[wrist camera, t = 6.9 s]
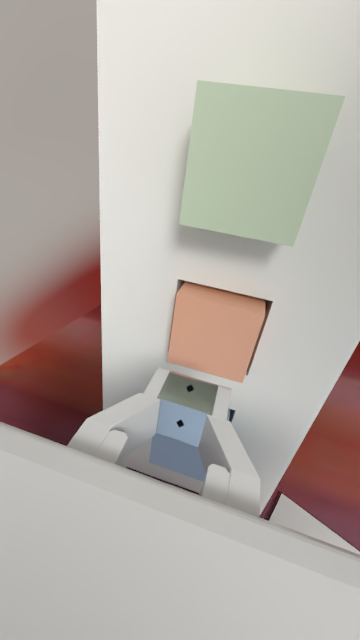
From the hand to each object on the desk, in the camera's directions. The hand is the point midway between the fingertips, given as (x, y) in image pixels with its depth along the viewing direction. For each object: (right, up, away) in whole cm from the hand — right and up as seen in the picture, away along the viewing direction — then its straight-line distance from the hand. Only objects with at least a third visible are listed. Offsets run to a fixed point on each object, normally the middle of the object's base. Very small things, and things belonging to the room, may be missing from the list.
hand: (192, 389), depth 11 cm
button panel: (+1, -9, +17) cm, 19 cm away
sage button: (+2, +7, +2) cm, 8 cm away
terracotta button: (+2, +1, +7) cm, 7 cm away
